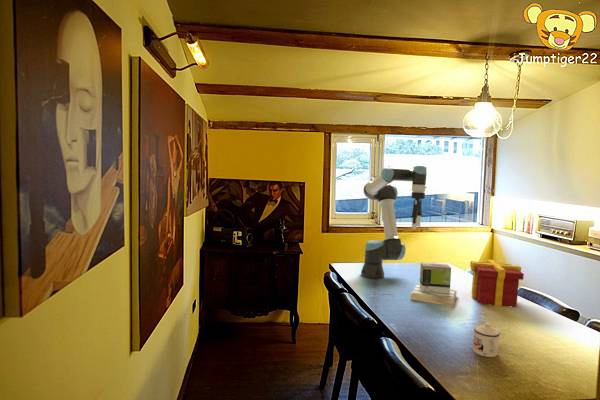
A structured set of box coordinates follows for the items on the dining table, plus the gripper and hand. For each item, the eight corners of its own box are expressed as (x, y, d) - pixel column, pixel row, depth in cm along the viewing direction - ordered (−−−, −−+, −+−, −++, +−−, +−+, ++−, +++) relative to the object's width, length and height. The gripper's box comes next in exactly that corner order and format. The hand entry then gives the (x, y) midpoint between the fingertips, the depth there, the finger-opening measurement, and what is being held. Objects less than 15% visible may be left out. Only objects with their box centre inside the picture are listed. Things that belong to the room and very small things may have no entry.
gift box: (464, 291, 240) (467, 257, 239) (510, 295, 235) (513, 261, 234) (474, 304, 216) (477, 267, 214) (524, 310, 211) (528, 272, 209)
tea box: (446, 289, 228) (448, 263, 227) (449, 294, 218) (451, 267, 217) (419, 286, 231) (420, 261, 230) (421, 292, 221) (423, 265, 220)
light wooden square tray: (416, 290, 238) (416, 283, 238) (456, 296, 229) (456, 289, 229) (410, 299, 220) (411, 292, 220) (453, 306, 211) (454, 299, 211)
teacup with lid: (468, 347, 162) (470, 319, 161) (489, 347, 163) (491, 319, 162) (484, 361, 150) (486, 331, 149) (507, 361, 151) (510, 331, 150)
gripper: (421, 193, 224) (419, 230, 225) (427, 191, 246) (425, 225, 248) (408, 192, 227) (405, 229, 229) (415, 190, 250) (412, 224, 251)
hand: (415, 227), depth 238 cm, fingers open, 13 cm apart
